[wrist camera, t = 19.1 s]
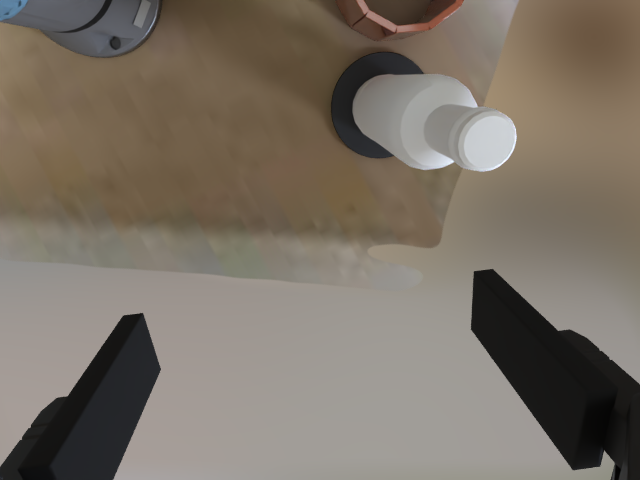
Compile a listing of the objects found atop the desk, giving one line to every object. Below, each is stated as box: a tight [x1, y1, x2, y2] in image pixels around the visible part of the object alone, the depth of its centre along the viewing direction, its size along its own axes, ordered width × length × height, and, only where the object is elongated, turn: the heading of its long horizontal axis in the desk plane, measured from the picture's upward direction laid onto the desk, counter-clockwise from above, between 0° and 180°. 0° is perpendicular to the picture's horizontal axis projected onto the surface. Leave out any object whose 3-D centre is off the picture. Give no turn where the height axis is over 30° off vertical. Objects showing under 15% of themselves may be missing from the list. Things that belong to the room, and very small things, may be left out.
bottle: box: [352, 74, 517, 172], centre depth 38 cm, size 8×8×30 cm
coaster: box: [331, 52, 423, 158], centre depth 52 cm, size 13×13×1 cm
